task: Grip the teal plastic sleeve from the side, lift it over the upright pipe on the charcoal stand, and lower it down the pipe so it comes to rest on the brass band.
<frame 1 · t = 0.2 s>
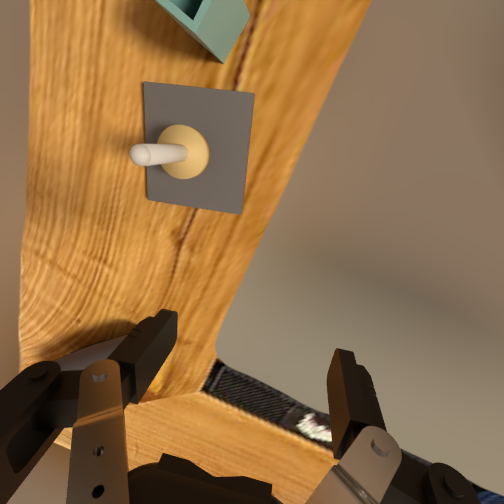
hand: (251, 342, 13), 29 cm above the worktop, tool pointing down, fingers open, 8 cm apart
bluetooth speaker: (115, 349, 57), on the worktop
pipe stand: (197, 151, 39), on the worktop
sleeve: (217, 24, 33), on the worktop
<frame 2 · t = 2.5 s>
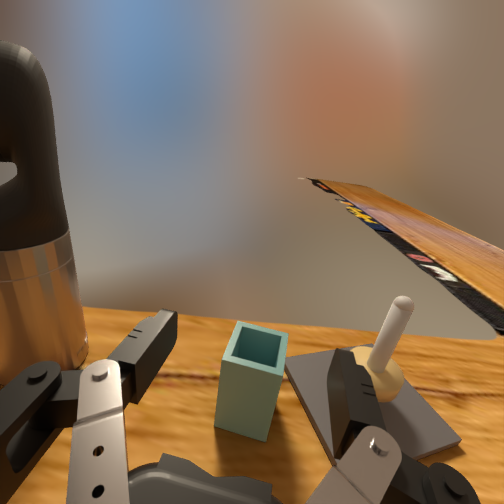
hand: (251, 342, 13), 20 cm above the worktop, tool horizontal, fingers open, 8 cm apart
pipe stand: (360, 399, 34), on the worktop
sleeve: (245, 409, 31), on the worktop
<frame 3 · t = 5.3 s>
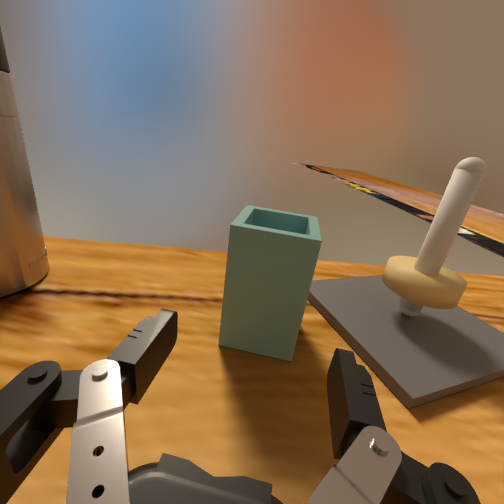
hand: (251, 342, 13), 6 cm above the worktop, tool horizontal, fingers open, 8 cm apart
pipe stand: (402, 322, 27), on the worktop
sleeve: (259, 329, 23), on the worktop
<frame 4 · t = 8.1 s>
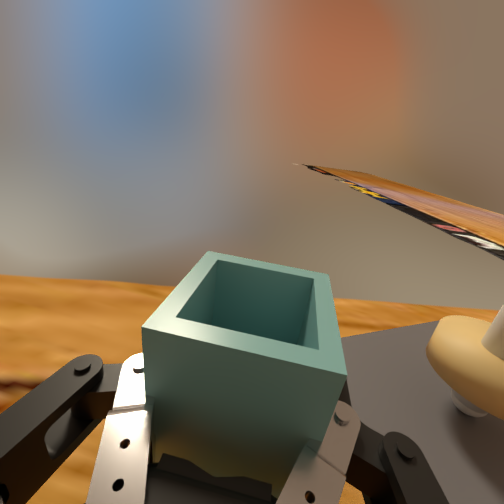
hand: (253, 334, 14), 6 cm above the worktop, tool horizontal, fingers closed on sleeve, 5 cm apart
pipe stand: (456, 419, 18), on the worktop
sleeve: (231, 455, 14), on the worktop, touching gripper
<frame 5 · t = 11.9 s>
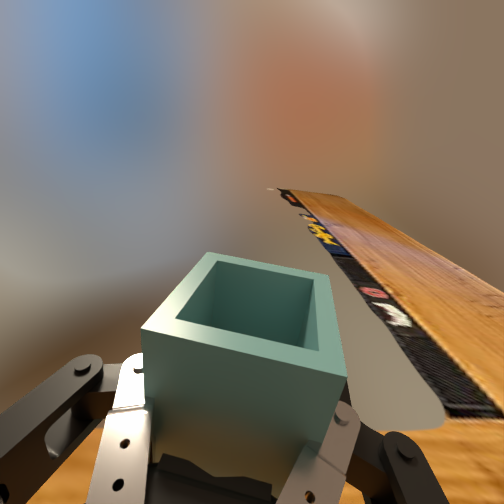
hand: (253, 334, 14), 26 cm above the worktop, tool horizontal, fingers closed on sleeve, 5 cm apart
sleeve: (230, 456, 14), point 20 cm above the worktop, touching gripper
when the fingers open (13 cm above the worktop, at t = 16.0 s): sleeve drops 1 cm, resting on pipe stand.
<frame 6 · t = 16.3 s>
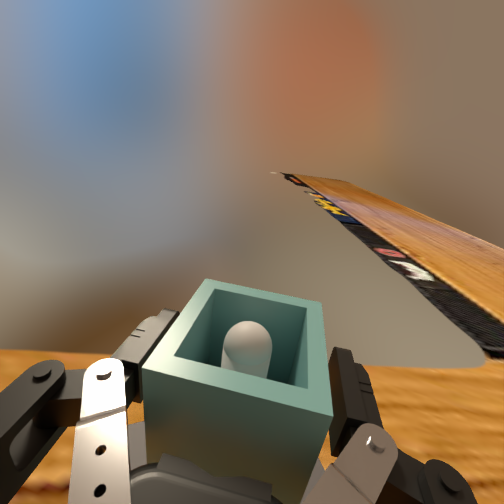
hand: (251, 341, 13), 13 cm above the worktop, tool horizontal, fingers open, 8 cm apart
sleeve: (228, 473, 14), point 6 cm above the worktop, touching pipe stand
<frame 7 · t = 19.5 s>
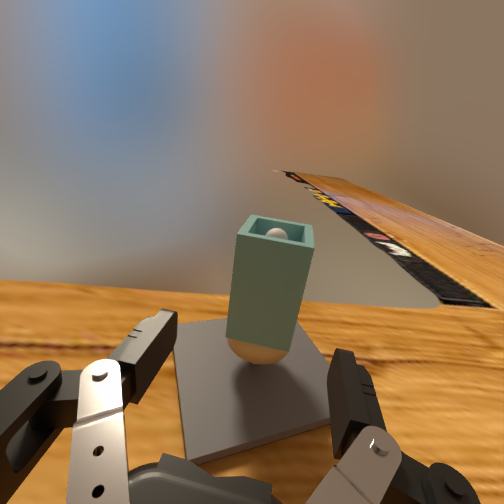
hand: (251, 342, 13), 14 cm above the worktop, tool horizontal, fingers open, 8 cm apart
pipe stand: (253, 368, 29), on the worktop
sleeve: (261, 324, 26), point 6 cm above the worktop, touching pipe stand
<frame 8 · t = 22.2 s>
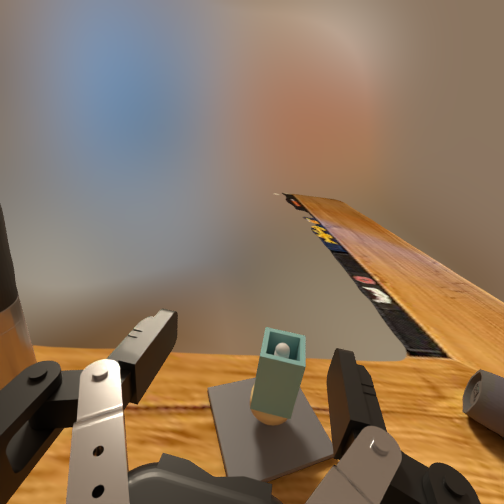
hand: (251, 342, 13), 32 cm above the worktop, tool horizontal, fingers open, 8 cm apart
pipe stand: (266, 421, 42), on the worktop
sleeve: (272, 396, 40), point 6 cm above the worktop, touching pipe stand
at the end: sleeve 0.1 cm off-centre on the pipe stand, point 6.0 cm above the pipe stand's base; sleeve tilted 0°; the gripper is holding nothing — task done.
